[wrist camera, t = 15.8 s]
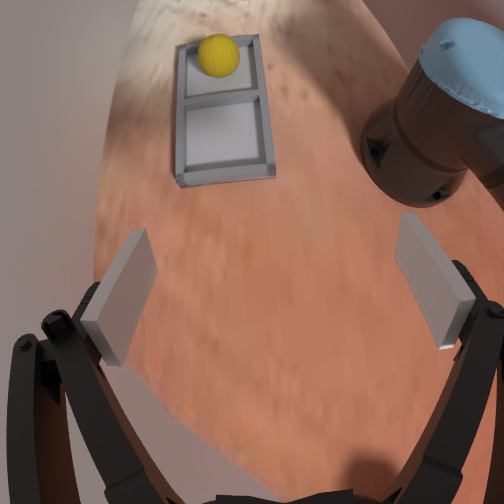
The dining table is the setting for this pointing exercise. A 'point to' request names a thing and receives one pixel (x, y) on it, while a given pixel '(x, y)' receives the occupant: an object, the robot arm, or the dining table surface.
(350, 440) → the dining table surface
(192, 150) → the grey divided tray
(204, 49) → the lemon
